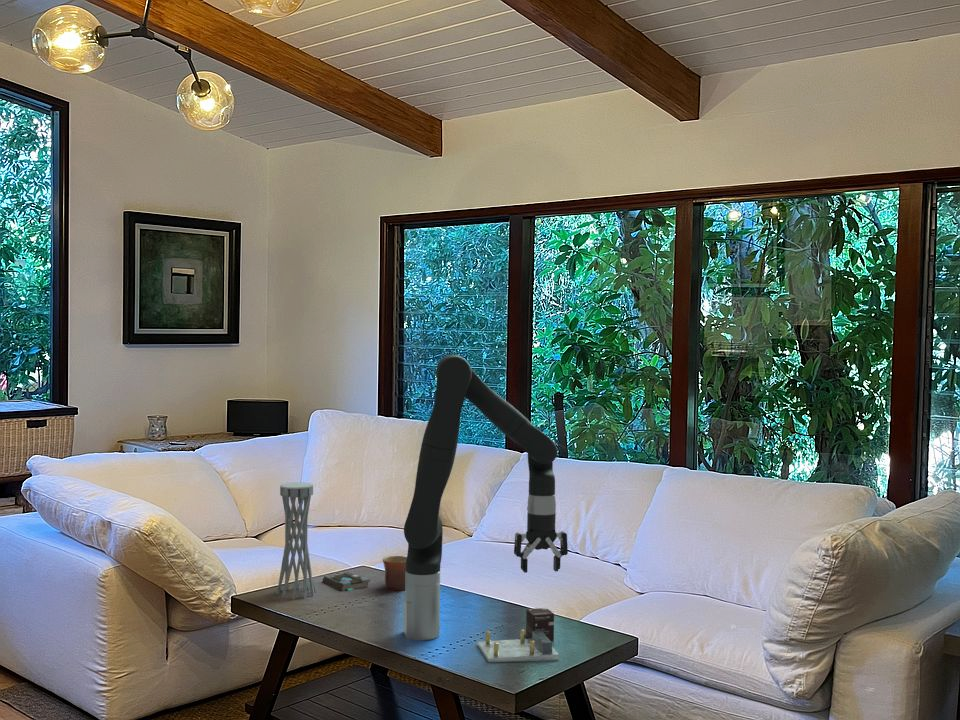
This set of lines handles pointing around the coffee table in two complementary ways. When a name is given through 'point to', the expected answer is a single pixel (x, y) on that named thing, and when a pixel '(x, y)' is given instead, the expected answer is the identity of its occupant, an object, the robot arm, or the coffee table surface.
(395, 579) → the mug
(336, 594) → the coffee table surface
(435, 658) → the coffee table surface
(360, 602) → the coffee table surface
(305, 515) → the grey lattice tower
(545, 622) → the box
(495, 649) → the chassis
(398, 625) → the coffee table surface
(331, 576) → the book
